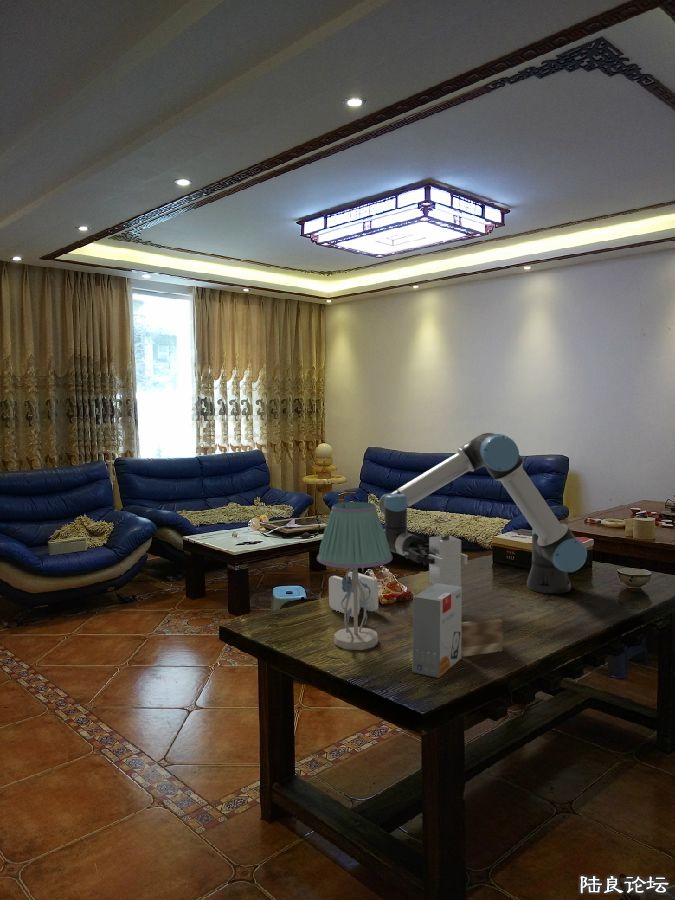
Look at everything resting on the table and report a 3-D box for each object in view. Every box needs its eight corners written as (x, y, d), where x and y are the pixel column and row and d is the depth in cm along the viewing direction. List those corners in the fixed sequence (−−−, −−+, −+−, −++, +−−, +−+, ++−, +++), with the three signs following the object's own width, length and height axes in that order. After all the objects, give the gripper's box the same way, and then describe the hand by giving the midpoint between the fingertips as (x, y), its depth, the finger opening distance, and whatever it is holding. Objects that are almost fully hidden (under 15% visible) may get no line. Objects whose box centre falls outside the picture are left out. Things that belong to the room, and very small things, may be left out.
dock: (471, 629, 198) (471, 601, 198) (502, 651, 181) (502, 620, 180) (434, 634, 195) (434, 606, 194) (463, 656, 178) (463, 626, 177)
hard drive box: (439, 679, 164) (439, 601, 162) (411, 673, 168) (410, 597, 166) (462, 658, 177) (462, 585, 175) (436, 652, 181) (435, 581, 179)
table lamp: (342, 624, 205) (340, 497, 202) (405, 636, 194) (404, 502, 191) (304, 647, 186) (301, 508, 183) (371, 662, 175) (369, 514, 172)
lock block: (450, 580, 201) (450, 532, 200) (460, 586, 194) (461, 537, 193) (429, 582, 199) (429, 534, 198) (439, 588, 192) (439, 539, 191)
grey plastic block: (327, 608, 221) (326, 574, 220) (351, 602, 227) (350, 569, 226) (355, 620, 209) (355, 584, 208) (380, 612, 215) (379, 578, 215)
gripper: (438, 554, 217) (482, 569, 197) (384, 561, 208) (424, 579, 188) (438, 531, 217) (482, 545, 196) (384, 538, 207) (424, 553, 187)
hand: (454, 561), depth 192 cm, fingers closed on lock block, 8 cm apart
